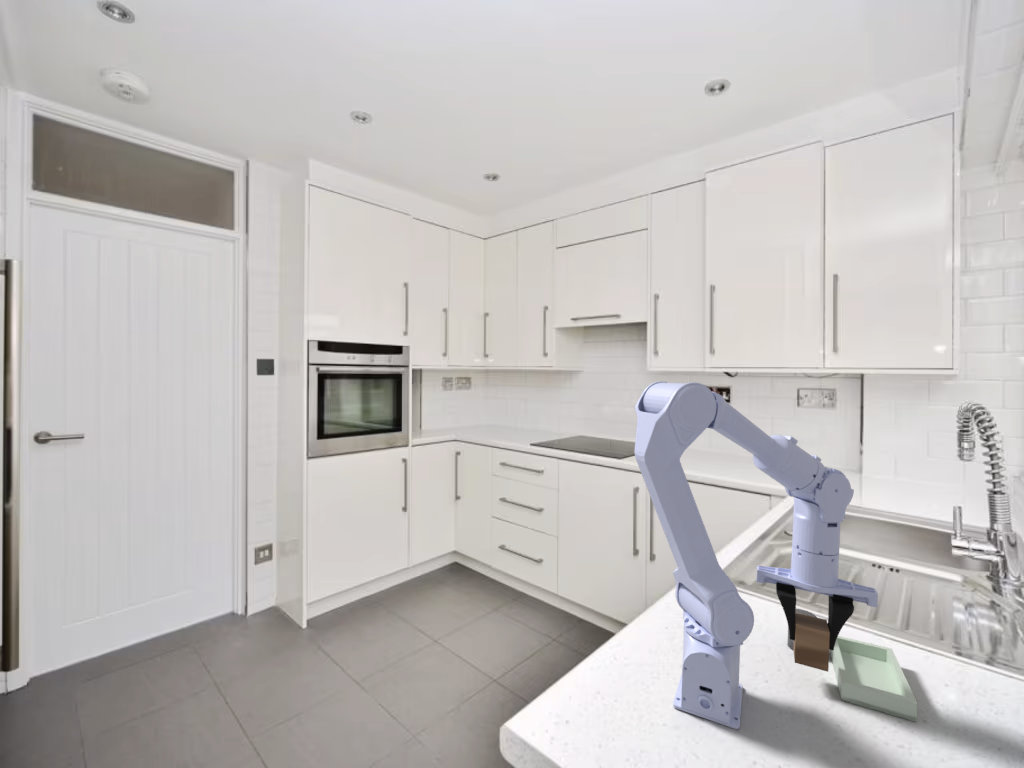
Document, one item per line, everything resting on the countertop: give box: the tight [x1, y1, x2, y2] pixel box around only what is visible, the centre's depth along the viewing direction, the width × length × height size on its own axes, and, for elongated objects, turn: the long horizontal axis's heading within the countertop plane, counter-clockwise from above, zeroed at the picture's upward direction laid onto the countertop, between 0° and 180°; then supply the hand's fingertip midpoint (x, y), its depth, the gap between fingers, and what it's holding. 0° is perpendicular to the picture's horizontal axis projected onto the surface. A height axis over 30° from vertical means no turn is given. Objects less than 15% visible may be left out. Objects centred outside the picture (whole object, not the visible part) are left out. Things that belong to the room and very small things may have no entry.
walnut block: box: [793, 613, 830, 673], centre depth 67 cm, size 4×4×6 cm
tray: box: [829, 635, 918, 723], centre depth 68 cm, size 14×8×2 cm, turn 151°
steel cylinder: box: [787, 608, 817, 652], centre depth 76 cm, size 4×4×6 cm
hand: (810, 641), depth 67 cm, fingers closed on walnut block, 4 cm apart
